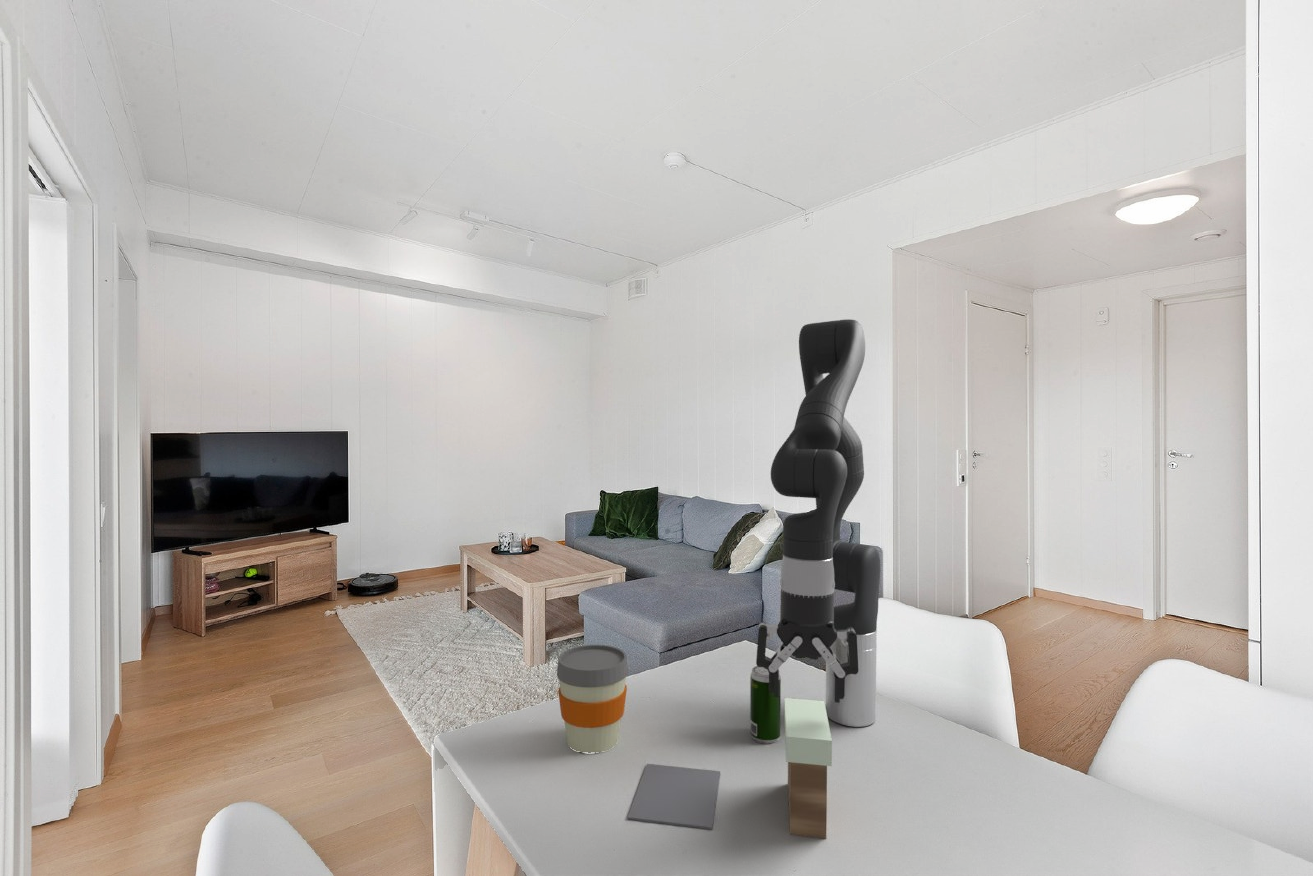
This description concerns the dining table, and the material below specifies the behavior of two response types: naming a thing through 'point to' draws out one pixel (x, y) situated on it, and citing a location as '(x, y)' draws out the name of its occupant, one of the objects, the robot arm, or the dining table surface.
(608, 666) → the reusable coffee cup
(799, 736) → the pale green block
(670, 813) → the mat
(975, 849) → the dining table surface
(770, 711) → the beer can
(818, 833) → the box
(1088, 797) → the dining table surface
